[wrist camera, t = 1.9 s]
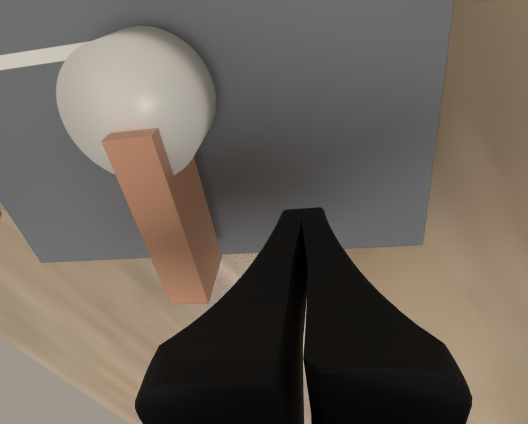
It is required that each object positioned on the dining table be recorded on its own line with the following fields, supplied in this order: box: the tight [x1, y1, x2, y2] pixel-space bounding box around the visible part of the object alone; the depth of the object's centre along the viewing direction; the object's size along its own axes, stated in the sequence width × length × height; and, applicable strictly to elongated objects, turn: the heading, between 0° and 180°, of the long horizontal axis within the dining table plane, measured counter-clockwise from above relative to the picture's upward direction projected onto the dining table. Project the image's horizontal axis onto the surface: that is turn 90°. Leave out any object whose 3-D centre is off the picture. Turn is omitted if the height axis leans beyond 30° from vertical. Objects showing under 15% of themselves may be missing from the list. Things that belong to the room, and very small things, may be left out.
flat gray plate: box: [0, 0, 454, 263], centre depth 14 cm, size 20×17×2 cm
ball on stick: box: [56, 26, 222, 304], centre depth 13 cm, size 4×10×3 cm, turn 8°
